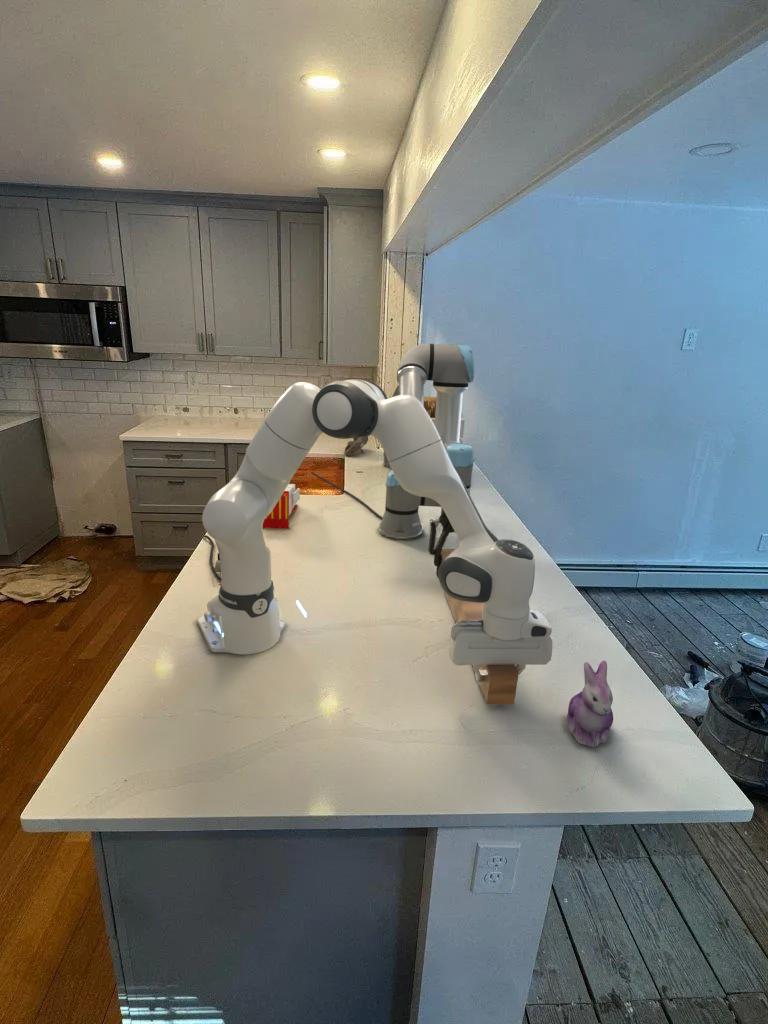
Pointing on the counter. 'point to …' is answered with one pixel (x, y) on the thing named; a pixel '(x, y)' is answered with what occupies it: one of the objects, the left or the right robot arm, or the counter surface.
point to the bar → (497, 677)
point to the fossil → (355, 445)
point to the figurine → (591, 708)
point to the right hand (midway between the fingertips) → (448, 575)
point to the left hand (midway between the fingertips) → (496, 679)
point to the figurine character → (218, 565)
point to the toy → (283, 509)
